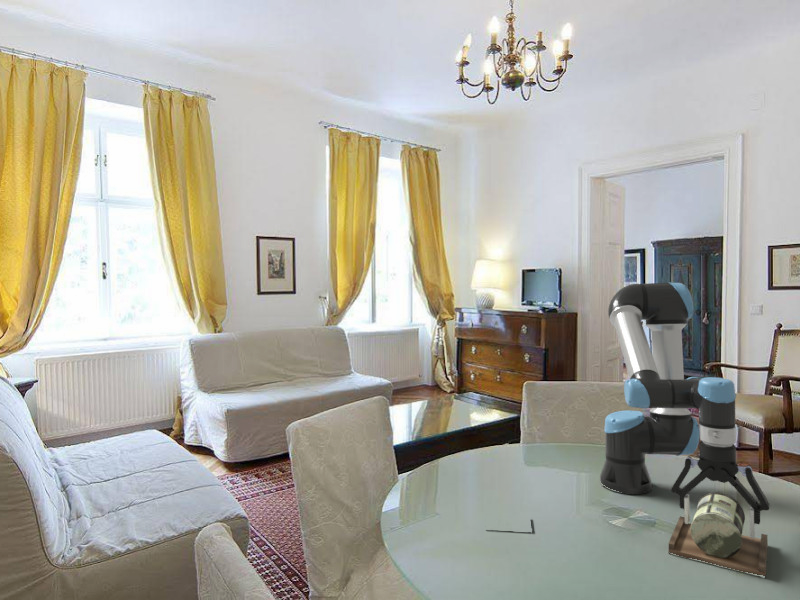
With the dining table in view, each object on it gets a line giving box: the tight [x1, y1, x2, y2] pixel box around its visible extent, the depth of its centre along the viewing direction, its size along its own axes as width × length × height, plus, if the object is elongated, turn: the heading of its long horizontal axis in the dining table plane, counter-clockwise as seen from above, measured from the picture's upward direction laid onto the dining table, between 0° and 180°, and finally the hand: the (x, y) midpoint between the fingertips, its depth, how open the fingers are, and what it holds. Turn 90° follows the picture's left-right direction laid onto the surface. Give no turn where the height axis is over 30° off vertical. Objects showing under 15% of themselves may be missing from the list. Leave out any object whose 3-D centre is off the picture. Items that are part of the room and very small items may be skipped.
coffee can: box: [690, 491, 746, 558], centre depth 125 cm, size 10×10×14 cm
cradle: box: [668, 515, 768, 576], centre depth 125 cm, size 17×19×3 cm
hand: (718, 528), depth 126 cm, fingers open, 13 cm apart
